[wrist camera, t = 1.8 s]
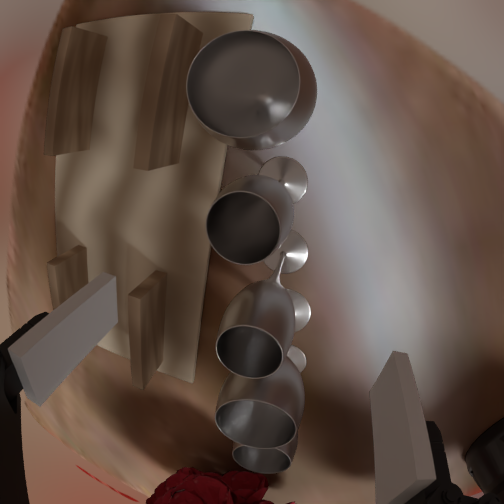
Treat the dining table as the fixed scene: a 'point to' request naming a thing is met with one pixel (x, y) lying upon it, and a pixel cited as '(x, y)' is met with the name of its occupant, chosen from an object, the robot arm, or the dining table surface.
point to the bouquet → (211, 488)
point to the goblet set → (258, 237)
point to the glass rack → (136, 179)
